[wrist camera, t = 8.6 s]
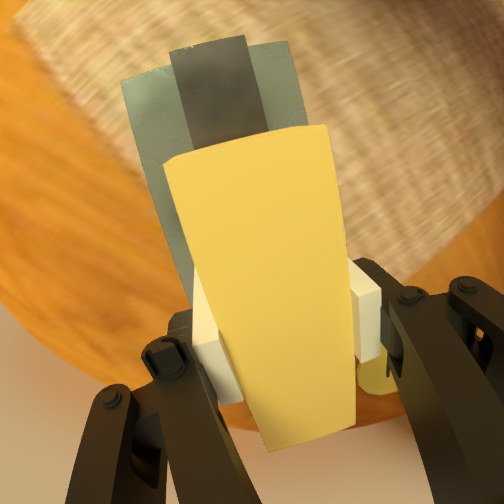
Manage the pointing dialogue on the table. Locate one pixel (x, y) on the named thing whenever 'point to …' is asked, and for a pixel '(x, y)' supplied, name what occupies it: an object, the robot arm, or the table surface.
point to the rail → (207, 114)
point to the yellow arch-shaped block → (275, 274)
